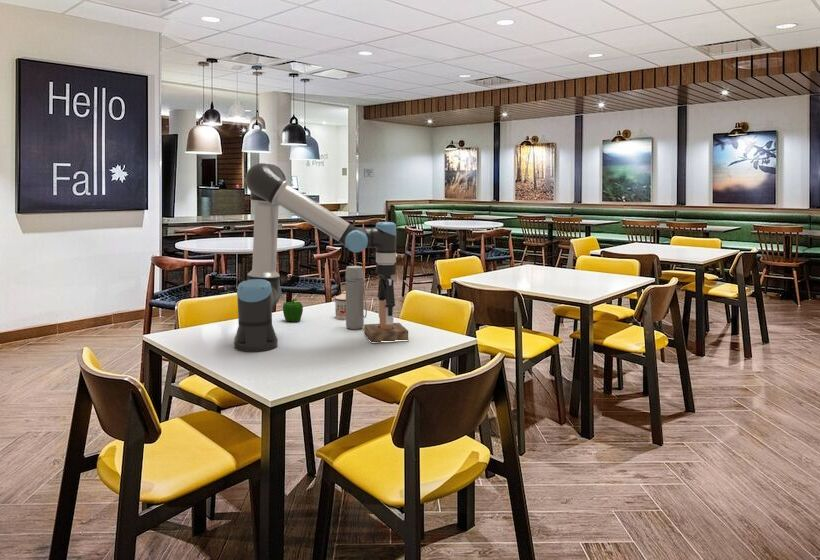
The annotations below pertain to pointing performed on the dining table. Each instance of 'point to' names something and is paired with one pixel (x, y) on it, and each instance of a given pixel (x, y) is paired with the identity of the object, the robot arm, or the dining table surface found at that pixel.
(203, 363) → the dining table surface
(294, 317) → the bell pepper
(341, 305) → the teacup with lid
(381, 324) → the peg
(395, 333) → the socket block
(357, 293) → the water bottle
